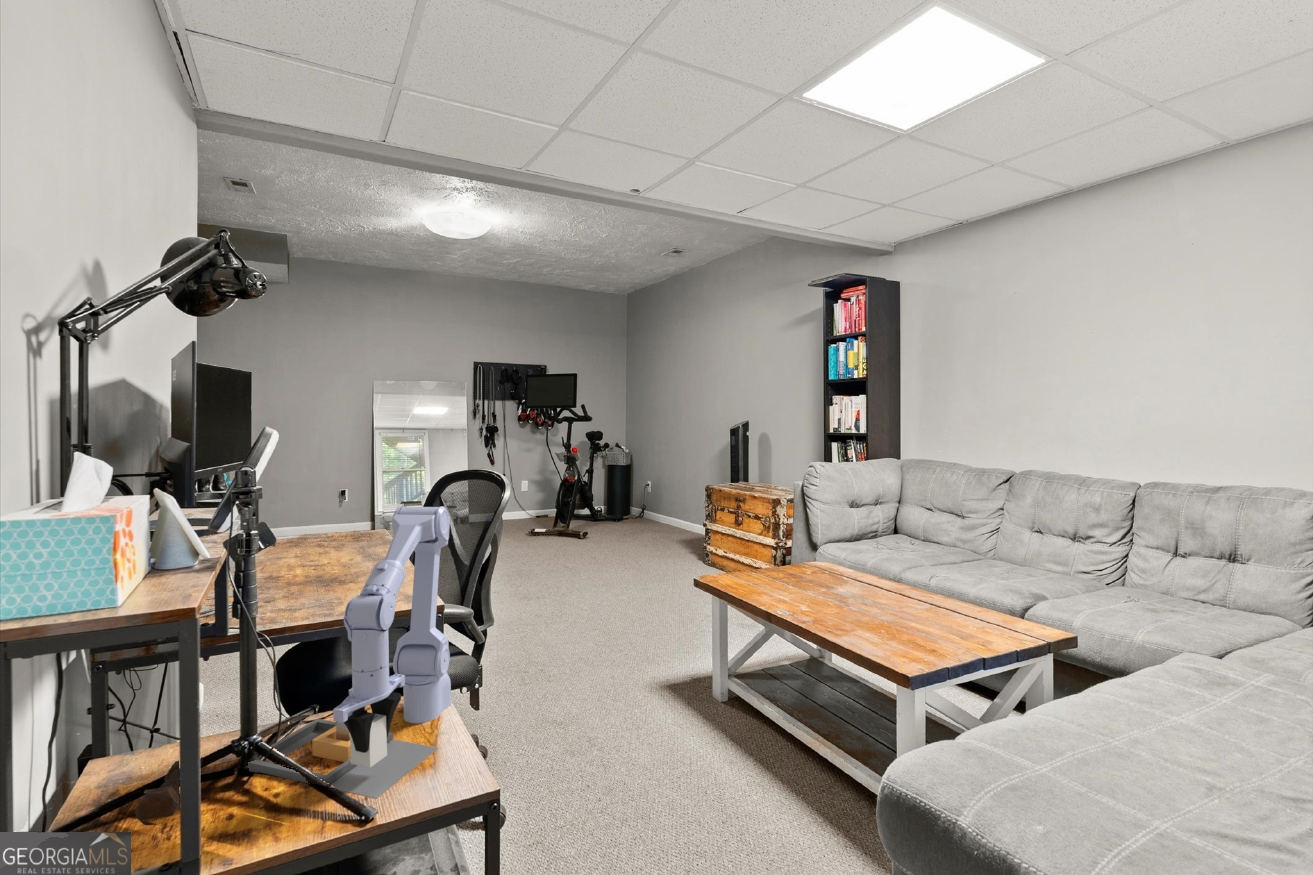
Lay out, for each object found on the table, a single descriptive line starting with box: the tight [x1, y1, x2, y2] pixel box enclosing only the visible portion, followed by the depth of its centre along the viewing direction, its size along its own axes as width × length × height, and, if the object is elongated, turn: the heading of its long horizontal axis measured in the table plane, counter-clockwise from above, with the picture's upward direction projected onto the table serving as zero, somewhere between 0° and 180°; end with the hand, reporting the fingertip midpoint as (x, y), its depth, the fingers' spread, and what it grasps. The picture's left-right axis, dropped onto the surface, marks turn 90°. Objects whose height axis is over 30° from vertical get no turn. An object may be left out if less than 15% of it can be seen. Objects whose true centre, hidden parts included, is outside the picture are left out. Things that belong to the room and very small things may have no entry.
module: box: [350, 714, 387, 767], centre depth 108 cm, size 4×4×7 cm
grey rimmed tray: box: [248, 718, 394, 785], centre depth 116 cm, size 16×18×4 cm
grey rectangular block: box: [335, 721, 350, 742], centre depth 117 cm, size 3×3×7 cm
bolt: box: [134, 756, 203, 826], centre depth 105 cm, size 6×5×15 cm
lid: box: [330, 739, 439, 800], centre depth 111 cm, size 16×11×1 cm, turn 163°
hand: (371, 743), depth 108 cm, fingers closed on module, 4 cm apart
